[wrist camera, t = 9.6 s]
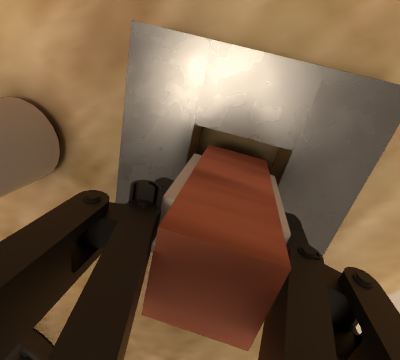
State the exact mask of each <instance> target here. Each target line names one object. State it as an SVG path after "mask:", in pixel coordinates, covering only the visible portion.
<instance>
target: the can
mask: <svg viewBox="0 0 400 360" xmlns="http://www.w3.org/2000/svg"><path fill="white" fill-rule="evenodd" d="M59 155H60V149H59V141H58V137H57V135H56V132H55V130H54V128H53V126H52V125H51V123H50V122H49V121H48V119H47V118H46V116H45V115H44V114H43V113H42V112H41V111H40V110H38V109H37V108H36V107H35V106H34V105H32V104H30V103H28V102H26V101H24V100H22V99H20V98H13V97H0V197H2V196H4V195H6V194H8V193H10V192H13V191H15V190H17V189H19V188H21V187H23V186H25V185H27V184H30V183H32V182H34V181H36V180H38V179H40V178H42V177H44V176H46V175H48V174H49V173H51V172H53V170H54V169H55V167H56V166H57V164H58V160H59Z"/></svg>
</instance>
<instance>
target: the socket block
mask: <svg viewBox="0 0 400 360" xmlns="http://www.w3.org/2000/svg"><path fill="white" fill-rule="evenodd" d="M399 124H400V85H399V84H394V83H390V82H386V81H382V80H378V79H374V78H370V77H365V76H361V75H357V74H353V73H349V72H345V71H341V70H336V69H332V68H328V67H324V66H320V65H316V64H312V63H307V62H303V61H299V60H295V59H291V58H287V57H283V56H278V55H274V54H270V53H266V52H262V51H258V50H253V49H249V48H245V47H241V46H237V45H233V44H229V43H224V42H220V41H216V40H212V39H208V38H204V37H200V36H195V35H191V34H187V33H183V32H179V31H175V30H171V29H166V28H162V27H158V26H154V25H150V24H146V23H142V22H137V21H133V20H132V24H131V35H130V46H129V57H128V69H127V80H126V91H125V102H124V113H123V125H122V136H121V147H120V158H119V170H118V181H117V192H116V203H123V204H125V203H128V201H129V195H130V186H131V183H132V182H133V181H136V180H150V181H154V182H155V180H156V179H159V178H161V177H165V178H169V179H172V180H175V179H176V178H177V177H178V175H179V174H180V173H181V171H182V170H183V169H184V167H185V166H186V164H187V163H188V162H189V160H190V159H191V158H192V156H193V155H194V153H195V154H196V150H197V146H198V142H199V137H200V133H201V129H202V126H203V127H207V128H210V129H214V130H218V131H221V132H225V133H229V134H232V135H236V136H240V137H243V138H247V139H251V140H254V141H258V142H262V143H266V144H269V145H273V146H277V147H280V149H279V151H278V154H277V156H276V159H275V162H274V164H273V167H272V169H271V172H270V175H273V176H275V179H276V183H277V186H278V190H279V194H280V197H281V201H282V204H283V208H284V212H287V213H291V214H294V215H295V216H296V217H297V218H298V219H299V220H300V222H301V224H302V228H303V230H304V233H305V235H306V238H307V240H308V243H309V245H310V246H312V247H313V248H315V249H316V250H317V251H318V252H319V253H320V254H321V255H322V256H323V254H324V253H325V251H326V249H327V248H328V246H329V244H330V242H331V241H332V239H333V237H334V236H335V234H336V232H337V230H338V229H339V227H340V225H341V224H342V222H343V220H344V218H345V217H346V215H347V213H348V212H349V210H350V208H351V206H352V205H353V203H354V201H355V199H356V198H357V196H358V194H359V193H360V191H361V189H362V187H363V186H364V184H365V182H366V181H367V179H368V177H369V175H370V174H371V172H372V170H373V169H374V167H375V165H376V163H377V162H378V160H379V158H380V157H381V155H382V153H383V151H384V150H385V148H386V146H387V145H388V143H389V141H390V139H391V138H392V136H393V134H394V133H395V131H396V129H397V127H398V126H399ZM154 243H155V239H154V241H153V243H152V247H151V251H154Z"/></svg>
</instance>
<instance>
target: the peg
mask: <svg viewBox="0 0 400 360" xmlns="http://www.w3.org/2000/svg"><path fill="white" fill-rule="evenodd" d="M290 271H291V264H290V260H289V256H288V251H287V247H286V243H285V238H284V234H283V230H282V225H281V221H280V217H279V212H278V208H277V204H276V199H275V195H274V191H273V186H272V182H271V178H270V173H269V169H268V165H267V161H266V160H263V159H259V158H256V157H252V156H248V155H245V154H241V153H238V152H234V151H230V150H227V149H223V148H219V147H216V146H212V145H208V147H207V148H206V150H205V151H204V153H203V155H202V156H201V158H200V160H199V161H198V163H197V164H196V166H195V168H194V169H193V171H192V173H191V174H190V176H189V177H188V179H187V181H186V182H185V184H184V186H183V187H182V189H181V190H180V192H179V194H178V195H177V197H176V199H175V200H174V202H173V203H172V205H171V207H170V208H169V210H168V212H167V213H166V215H165V216H164V218H163V220H162V221H161V223H160V225H159V226H158V230H157V235H156V240H155V246H154V251H153V256H152V262H151V267H150V273H149V278H148V283H147V289H146V294H145V299H144V305H143V310H142V315H144V316H147V317H150V318H153V319H156V320H159V321H162V322H165V323H167V324H170V325H173V326H176V327H179V328H182V329H185V330H188V331H191V332H194V333H197V334H199V335H202V336H205V337H208V338H211V339H214V340H217V341H220V342H223V343H226V344H229V345H232V346H234V347H237V348H240V349H243V350H246V351H248V350H249V349H250V347H251V345H252V343H253V341H254V339H255V337H256V335H257V333H258V331H259V330H260V328H261V326H262V324H263V322H264V320H265V318H266V316H267V314H268V312H269V311H270V309H271V307H272V305H273V303H274V301H275V299H276V297H277V295H278V293H279V291H280V290H281V288H282V286H283V284H284V282H285V280H286V278H287V276H288V274H289V272H290Z"/></svg>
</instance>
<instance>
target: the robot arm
mask: <svg viewBox="0 0 400 360" xmlns="http://www.w3.org/2000/svg"><path fill="white" fill-rule="evenodd" d="M201 156H202V155H199V154H195V153H194V155H193V156H192V158H191V159H190V160H189V162H188V163H187V164H186V166H185V167H184V169H183V170H182V171H181V173H180V174H179V175H178V177H177V178H176V179H175V180H172V179H169V178H165V177H161V178H159V179H156V180H155V182H154V181H150V180H136V181H133V182H132V183H131V186H130V195H129V201H128V203H125V204H123V203H111V202H109V196H108V195H107V194H106V193H104V192H101V191H97V190H89V191H83V192H81V193H79V194H77V195H75V196H74V197H72V198H70V199H69V200H67V201H66V202H64V203H62V204H61V205H59V206H57V207H56V208H54V209H53V210H51V211H49V212H48V213H46V214H44V215H43V216H41V217H40V218H38V219H36V220H35V221H33V222H31V223H30V224H28V225H27V226H25V227H23V228H22V229H20V230H18V231H17V232H15V233H14V234H12V235H10V236H9V237H7V238H6V239H4V240H2V241H1V242H0V360H124V356H125V352H126V348H127V344H128V340H129V336H130V332H131V328H132V324H133V320H134V316H135V312H136V308H137V304H138V300H139V296H140V292H141V288H142V284H143V280H144V276H145V272H146V268H147V264H148V260H149V256H150V252H151V247H152V243H153V241H154V239H155V240H156V235H157V230H158V226H159V225H160V223H161V221H162V220H163V218H164V216H165V215H166V213H167V212H168V210H169V208H170V207H171V205H172V203H173V202H174V200H175V199H176V197H177V195H178V194H179V192H180V190H181V189H182V187H183V186H184V184H185V182H186V181H187V179H188V177H189V176H190V174H191V173H192V171H193V169H194V168H195V166H196V164H197V163H198V161H199V160H200V158H201ZM270 178H271V182H272V186H273V191H274V195H275V199H276V204H277V208H278V212H279V217H280V221H281V225H282V230H283V234H284V238H285V243H286V247H287V251H288V256H289V260H290V264H291V271H290V272H289V274H288V276H287V278H286V280H285V282H284V284H283V286H282V288H281V290H280V291H279V293H278V295H277V297H276V299H275V301H274V303H273V305H272V307H271V309H270V311H269V312H268V314H267V316H266V318H265V321H264V327H263V333H262V339H261V346H260V352H259V358H258V360H400V314H399V312H398V311H397V309H396V308H395V306H394V305H393V303H392V302H391V300H390V299H389V297H388V296H387V295H386V293H385V292H384V290H383V289H382V287H381V286H380V284H379V283H378V282H377V281H376V280H375V279H374V278H373V277H371V276H370V275H369V274H368V273H366V272H365V271H363V270H360V269H357V268H354V267H347V268H345V269H344V271H343V273H340V272H338V271H337V270H335V269H333V268H331V267H329V266H327V265H325V264H324V260H323V257H322V255H321V254H320V253H319V252H318V251H317V250H316V249H315V248H313V247H312V246H310V245H309V243H308V240H307V238H306V235H305V233H304V230H303V228H302V224H301V222H300V220H299V219H298V218H297V217H296V216H295V215H294V214H291V213H287V212H284V208H283V204H282V201H281V197H280V194H279V190H278V186H277V183H276V179H275V176H273V175H270ZM154 246H155V243H154ZM101 253H102V254H101ZM100 255H101V256H100ZM99 256H100V258H99V260H98V262H97V264H96V265H95V267H94V269H93V271H92V273H91V275H90V277H89V279H88V281H87V283H86V285H85V287H84V289H83V291H82V293H81V295H80V297H79V299H78V301H77V303H76V305H75V306H74V308H73V310H72V312H71V314H70V316H69V318H68V320H67V322H66V324H65V326H64V328H63V330H62V332H61V334H60V336H59V338H58V340H57V342H56V344H55V345H54V347H52V346H51V345H50V343H49V342H48V341H47V340H46V339H44V338H43V337H42V336H41V335H40V334H38V333H37V332H36V331H34V330H33V328H34V327H35V325H36V324H37V323H38V322H39V321H40V320H41V319H42V318H43V317H44V316H45V315H46V313H47V312H48V311H49V310H50V309H51V308H52V307H53V306H54V305H55V304H56V303H57V301H58V300H59V299H60V298H61V297H62V296H63V295H64V294H65V293H66V292H67V291H68V289H69V288H70V287H71V286H72V285H73V284H74V283H75V282H76V281H77V280H78V279H79V277H80V276H81V275H82V274H83V273H84V272H85V271H86V270H87V269H88V268H89V267H90V265H91V264H92V263H93V262H94V261H95V260H96V259H97V258H98V257H99ZM358 323H359V325H360V327H361V330H362V333H361V334H359V333H358V332H357V330H356V328H355V327H356V326H357V324H358Z"/></svg>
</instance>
